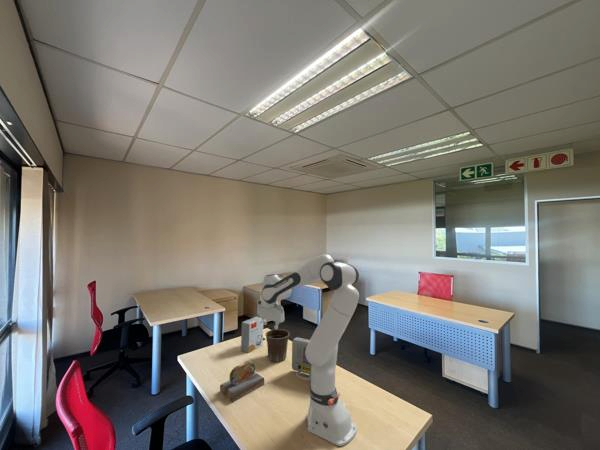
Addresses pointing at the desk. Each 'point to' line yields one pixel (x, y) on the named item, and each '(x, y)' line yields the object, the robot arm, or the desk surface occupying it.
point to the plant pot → (277, 344)
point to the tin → (242, 373)
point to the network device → (300, 357)
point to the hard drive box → (252, 334)
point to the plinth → (241, 387)
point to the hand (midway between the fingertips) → (270, 326)
